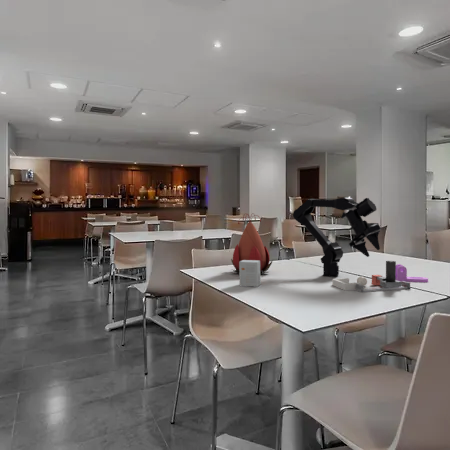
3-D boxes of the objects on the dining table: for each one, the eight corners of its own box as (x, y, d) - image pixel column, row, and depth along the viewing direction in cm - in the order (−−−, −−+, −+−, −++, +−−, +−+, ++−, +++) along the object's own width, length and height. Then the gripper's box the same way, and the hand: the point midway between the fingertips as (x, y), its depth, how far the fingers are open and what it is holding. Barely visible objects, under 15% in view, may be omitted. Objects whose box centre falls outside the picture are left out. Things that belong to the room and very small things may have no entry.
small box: (260, 284, 161) (260, 260, 161) (257, 287, 156) (257, 262, 155) (242, 283, 164) (242, 259, 163) (239, 286, 158) (238, 261, 158)
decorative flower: (239, 268, 204) (238, 212, 202) (279, 270, 194) (279, 212, 192) (221, 275, 184) (220, 213, 183) (265, 278, 174) (265, 214, 173)
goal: (347, 284, 160) (347, 278, 160) (361, 289, 150) (361, 283, 150) (332, 285, 159) (332, 279, 159) (344, 290, 149) (344, 284, 149)
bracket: (397, 281, 165) (397, 265, 165) (394, 279, 170) (394, 264, 170) (429, 282, 162) (430, 266, 162) (425, 280, 168) (426, 264, 167)
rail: (404, 286, 154) (404, 281, 154) (410, 288, 150) (410, 282, 150) (355, 290, 149) (355, 284, 149) (360, 292, 146) (360, 285, 146)
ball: (356, 286, 155) (356, 277, 155) (357, 284, 159) (357, 275, 159) (366, 287, 154) (366, 277, 153) (367, 285, 157) (367, 276, 157)
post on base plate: (384, 283, 160) (384, 258, 159) (401, 288, 149) (401, 261, 149) (369, 284, 158) (369, 258, 158) (385, 289, 148) (385, 262, 147)
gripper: (381, 208, 163) (400, 240, 158) (361, 225, 180) (377, 254, 175) (360, 215, 160) (378, 248, 155) (342, 232, 177) (357, 261, 172)
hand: (373, 253), depth 164 cm, fingers open, 9 cm apart
